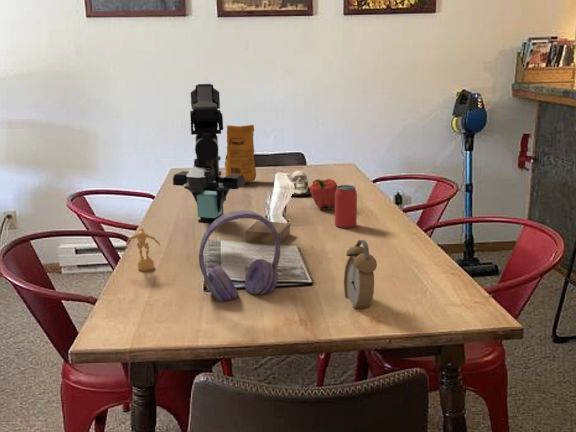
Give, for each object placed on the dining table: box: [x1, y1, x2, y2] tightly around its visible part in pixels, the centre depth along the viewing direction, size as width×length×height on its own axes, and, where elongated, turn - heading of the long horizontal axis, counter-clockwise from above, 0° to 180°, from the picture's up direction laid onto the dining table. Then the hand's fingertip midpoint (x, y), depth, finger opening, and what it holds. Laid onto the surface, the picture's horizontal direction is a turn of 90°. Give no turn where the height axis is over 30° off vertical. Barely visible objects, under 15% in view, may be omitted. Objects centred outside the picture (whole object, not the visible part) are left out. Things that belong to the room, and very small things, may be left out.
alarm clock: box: [343, 239, 378, 310], centre depth 134 cm, size 11×5×15 cm, turn 11°
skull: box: [289, 170, 311, 196], centre depth 233 cm, size 12×10×10 cm
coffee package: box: [224, 124, 257, 183], centre depth 252 cm, size 10×12×22 cm
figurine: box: [125, 227, 161, 272], centre depth 155 cm, size 8×6×12 cm
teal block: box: [196, 191, 224, 218], centre depth 171 cm, size 5×5×6 cm
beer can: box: [334, 184, 358, 229], centre depth 191 cm, size 7×7×12 cm
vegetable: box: [309, 178, 339, 209], centre depth 213 cm, size 11×10×10 cm
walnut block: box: [245, 220, 291, 245], centre depth 181 cm, size 10×10×4 cm
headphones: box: [198, 209, 281, 303], centre depth 139 cm, size 18×8×20 cm, turn 114°
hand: (210, 211), depth 171 cm, fingers closed on teal block, 5 cm apart
